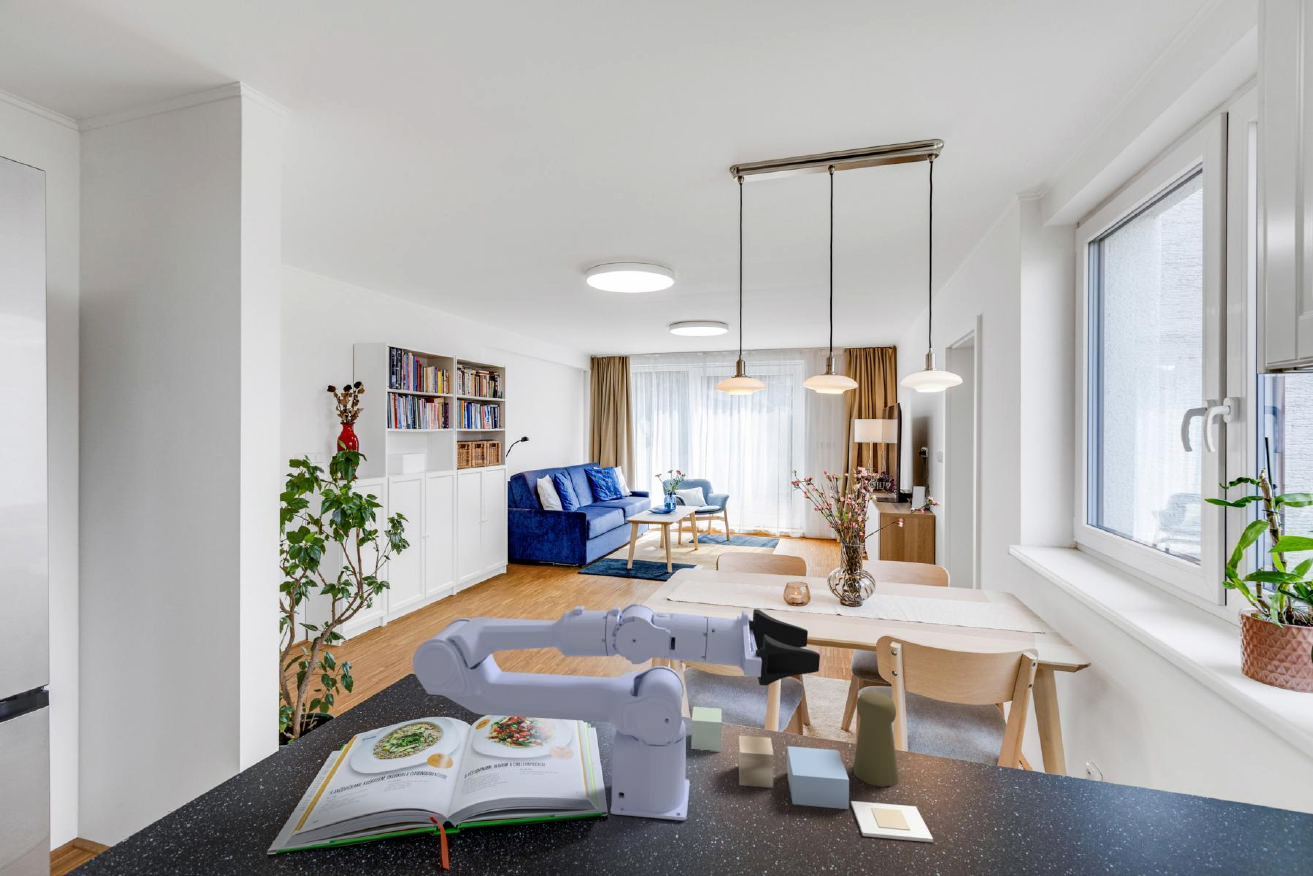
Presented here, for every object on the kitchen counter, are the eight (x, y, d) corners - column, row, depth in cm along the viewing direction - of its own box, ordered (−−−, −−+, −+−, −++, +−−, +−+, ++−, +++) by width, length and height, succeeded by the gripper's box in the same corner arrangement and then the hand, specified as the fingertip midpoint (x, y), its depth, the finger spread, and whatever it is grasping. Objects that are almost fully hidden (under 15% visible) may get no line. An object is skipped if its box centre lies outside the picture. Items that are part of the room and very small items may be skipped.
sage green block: (691, 750, 86) (691, 720, 86) (692, 735, 90) (693, 706, 90) (721, 752, 85) (721, 722, 85) (721, 737, 90) (721, 708, 90)
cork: (903, 789, 77) (904, 708, 77) (856, 783, 78) (857, 703, 78) (893, 764, 83) (894, 689, 83) (850, 759, 84) (851, 685, 84)
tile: (862, 835, 67) (862, 831, 67) (851, 804, 73) (851, 800, 73) (933, 842, 66) (933, 838, 66) (915, 809, 72) (915, 805, 72)
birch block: (739, 785, 77) (740, 752, 77) (738, 766, 82) (738, 735, 82) (773, 788, 77) (773, 754, 77) (770, 769, 81) (770, 737, 81)
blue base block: (792, 806, 73) (793, 774, 73) (787, 774, 80) (787, 746, 80) (848, 811, 72) (849, 779, 72) (838, 779, 79) (838, 750, 79)
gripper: (709, 629, 66) (827, 641, 65) (707, 592, 81) (804, 600, 80) (705, 689, 66) (822, 701, 65) (704, 640, 81) (800, 650, 80)
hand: (812, 649), depth 72 cm, fingers open, 7 cm apart
